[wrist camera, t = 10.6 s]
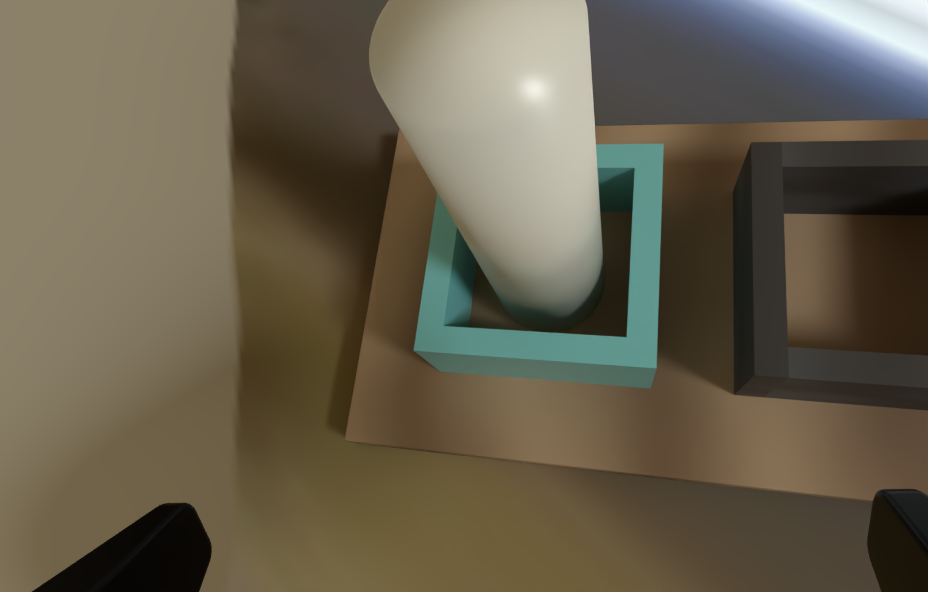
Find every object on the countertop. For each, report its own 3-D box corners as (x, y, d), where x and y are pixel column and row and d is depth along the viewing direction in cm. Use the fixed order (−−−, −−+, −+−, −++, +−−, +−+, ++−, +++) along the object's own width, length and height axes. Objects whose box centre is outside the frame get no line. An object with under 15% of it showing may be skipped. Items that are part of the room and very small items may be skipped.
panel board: (1056, 134, 20) (1157, 49, 16) (1128, 532, 16) (1277, 538, 13) (406, 144, 25) (371, 82, 22) (355, 443, 22) (303, 430, 18)
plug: (568, 352, 20) (507, 168, 9) (477, 299, 21) (328, 81, 10) (624, 261, 21) (632, -18, 10) (533, 215, 22) (446, -78, 11)
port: (657, 190, 21) (663, 143, 18) (650, 388, 19) (656, 368, 16) (464, 189, 23) (444, 146, 20) (440, 371, 21) (413, 350, 18)
